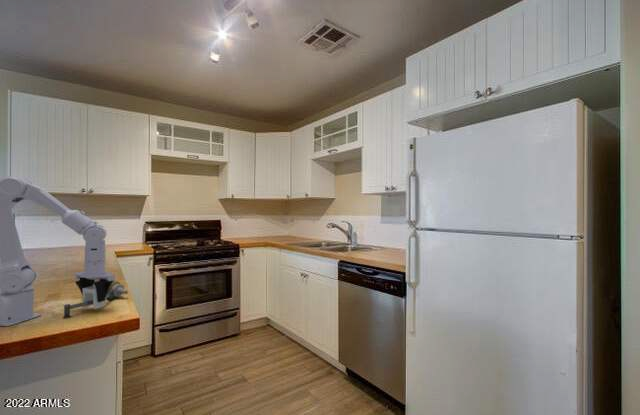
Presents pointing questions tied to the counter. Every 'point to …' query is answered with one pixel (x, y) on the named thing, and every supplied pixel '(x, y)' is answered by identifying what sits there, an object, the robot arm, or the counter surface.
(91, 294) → the grey u-shaped block
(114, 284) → the squeeze bottle
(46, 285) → the counter surface
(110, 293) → the grey lever handle
